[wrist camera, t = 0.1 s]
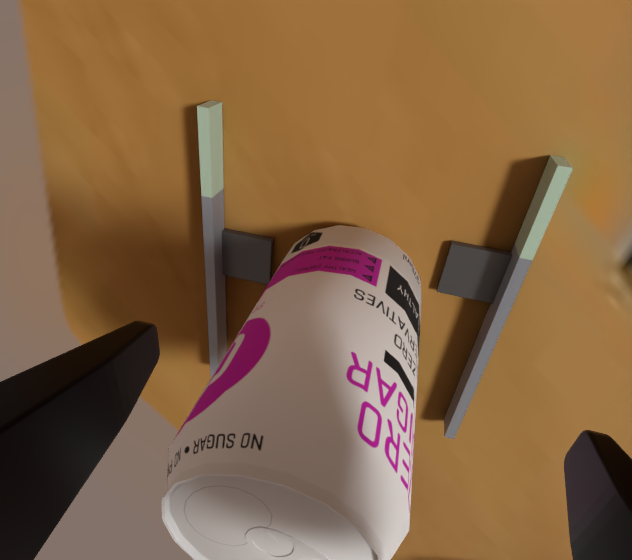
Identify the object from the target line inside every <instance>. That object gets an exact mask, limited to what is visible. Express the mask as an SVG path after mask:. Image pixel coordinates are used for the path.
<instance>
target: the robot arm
mask: <svg viewBox="0 0 632 560" xmlns="http://www.w3.org/2000/svg"><path fill="white" fill-rule="evenodd" d="M159 355H160V349H159V342H158V334H157V328H156V326H155V325H153V324H151V323H147V322H143V321H135V322H132V323H130V324H128V325H125V326H123V327H121V328H119V329H117V330H114V331H112V332H110V333H108V334H105V335H103V336H101V337H99V338H97V339H94V340H92V341H90V342H88V343H85V344H83V345H81V346H79V347H77V348H74V349H72V350H70V351H68V352H66V353H63V354H61V355H59V356H57V357H54V358H52V359H50V360H48V361H46V362H44V363H41V364H39V365H37V366H34V367H32V368H30V369H28V370H26V371H24V372H21V373H19V374H17V375H15V376H12V377H10V378H8V379H6V380H3V381H1V382H0V560H34V558H35V557H36V555H37V554H38V552H39V551H40V549H41V548H42V546H43V545H44V543H45V542H46V540H47V539H48V537H49V536H50V534H51V533H52V531H53V530H54V528H55V527H56V525H57V524H58V522H59V521H60V519H61V518H62V516H63V515H64V513H65V512H66V510H67V509H68V507H69V506H70V504H71V503H72V501H73V500H74V498H75V497H76V495H77V494H78V492H79V491H80V489H81V488H82V486H83V485H84V483H85V482H86V480H87V479H88V478H89V476H90V474H91V473H92V472H93V470H94V468H95V467H96V465H97V464H98V463H99V461H100V460H101V458H102V457H103V455H104V454H105V452H106V451H107V449H108V448H109V446H110V445H111V443H112V442H113V440H114V439H115V437H116V436H117V434H118V433H119V431H120V430H121V428H122V427H123V425H124V423H125V422H126V420H127V418H128V417H129V415H130V413H131V411H132V409H133V407H134V406H135V404H136V402H137V400H138V398H139V396H140V394H141V392H142V390H143V388H144V387H145V385H146V383H147V381H148V379H149V377H150V375H151V373H152V371H153V369H154V368H155V366H156V364H157V362H158V359H159ZM564 473H565V485H566V498H567V510H568V523H569V534H570V543H571V550H572V556H573V560H632V459H631V458H630V457H629V456H628V455H627V454H626V453H625V451H624V450H623V449H622V448H621V447H620V446H619V445H618V444H617V443H616V442H615V441H614V440H613V439H612V438H611V437H610V436H608V435H606V434H603V433H599V432H595V431H591V430H585V431H583V432H582V433H581V434H580V435H579V437H578V438H577V439H576V441H575V442H574V444H573V445H572V447H571V448H570V450H569V451H568V452H567V454H566V457H565V460H564Z"/></svg>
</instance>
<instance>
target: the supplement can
mask: <svg viewBox="0 0 632 560" xmlns="http://www.w3.org/2000/svg"><path fill="white" fill-rule="evenodd" d="M420 320H421V279H420V277H419V275H418V273H417V271H416V269H415V267H414V265H413V263H412V261H411V259H410V257H409V256H408V255H407V254H406V253H405V252H403V251H402V250H401V249H400V248H399V247H398V246H397V245H396V244H395V243H394V242H393V241H392V240H391V239H388V238H386V237H384V236H382V235H380V234H378V233H375V232H373V231H371V230H369V229H367V228H360V227H352V226H343V225H337V226H332V227H327V228H323V229H318V230H314V231H312V232H311V233H309V234H308V235H306V236H305V237H303V238H301V239H300V240H298V241H297V242H295V243H294V244H293V246H292V247H291V249H290V250H289V252H288V253H287V255H286V256H285V258H284V259H283V261H282V262H281V264H280V266H279V267H278V269H277V271H276V272H275V274H274V276H273V277H272V279H271V281H270V282H269V284H268V286H267V287H266V289H265V290H264V292H263V294H262V295H261V297H260V299H259V300H258V302H257V304H256V305H255V307H254V309H253V310H252V312H251V314H250V315H249V317H248V318H247V320H246V322H245V323H244V325H243V327H242V328H241V330H240V332H239V333H238V335H237V337H236V338H235V340H234V341H233V343H232V345H231V346H230V348H229V350H228V351H227V353H226V355H225V356H224V358H223V360H222V361H221V363H220V365H219V366H218V368H217V369H216V371H215V373H214V374H213V376H212V378H211V379H210V381H209V383H208V384H207V386H206V388H205V389H204V391H203V393H202V394H201V396H200V397H199V399H198V401H197V402H196V404H195V406H194V407H193V409H192V411H191V412H190V414H189V416H188V417H187V419H186V420H185V422H184V424H183V425H182V427H181V429H180V430H179V432H178V434H177V436H176V437H175V439H174V440H173V442H172V444H171V445H170V447H169V449H168V476H167V491H166V493H165V495H164V496H163V498H162V520H163V522H164V524H165V525H166V527H167V529H168V531H169V532H170V534H171V536H172V538H173V539H174V541H175V542H176V543H177V544H178V545H179V546H180V547H181V548H182V549H183V550H184V551H185V552H186V553H187V554H188V555H189V556H191V558H193V559H194V560H391V558H392V557H393V555H394V554H395V552H396V550H397V549H398V547H399V546H400V544H401V543H402V541H403V539H404V538H405V536H406V535H407V533H408V532H409V522H410V503H411V485H412V467H413V448H414V430H415V411H416V393H417V375H418V356H419V338H420Z"/></svg>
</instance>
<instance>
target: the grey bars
mask: <svg viewBox="0 0 632 560" xmlns="http://www.w3.org/2000/svg"><path fill="white" fill-rule="evenodd" d="M197 119H198V138H199V158H200V178H201V198H202V218H203V238H204V257H205V277H206V297H207V317H208V337H209V357H210V376H211V377H212V376H213V374H214V373H215V371H216V369H217V368H218V366H219V365H220V363H221V361H222V360H223V358H224V356H225V355H226V353H227V331H226V281H225V275H226V276H231V277H235V278H240V279H244V280H249V281H254V282H258V283H263V284H267V285H268V284H269V282H270V281H271V276H272V256H273V238H269V237H264V236H259V235H254V234H249V233H244V232H240V231H235V230H230V229H225V228H224V180H223V130H222V102H217V101H211V100H210V101H208V102H206V103H203V104H201V105H198V106H197ZM572 169H573V167H572V166H571V165H570V164H569V163H568V161H567V160H566V159H565V158H564V157H558V156H552V155H550V157H549V160H548V162H547V165H546V167H545V169H544V172H543V174H542V177H541V179H540V182H539V184H538V187H537V189H536V192H535V194H534V197H533V199H532V202H531V204H530V207H529V209H528V212H527V214H526V217H525V219H524V222H523V224H522V227H521V229H520V232H519V234H518V237H517V239H516V242H515V244H514V246H513V249H512V251H511V252H508V251H503V250H497V249H492V248H487V247H482V246H477V245H472V244H466V243H461V242H456V241H451V244H450V247H449V251H448V254H447V257H446V260H445V264H444V267H443V270H442V273H441V277H440V280H439V283H438V286H437V292H440V293H445V294H450V295H454V296H459V297H464V298H469V299H473V300H478V301H483V302H488V303H491V304H490V306H489V309H488V311H487V314H486V316H485V318H484V321H483V323H482V326H481V328H480V331H479V333H478V336H477V338H476V341H475V343H474V346H473V348H472V351H471V353H470V356H469V358H468V361H467V363H466V366H465V368H464V371H463V373H462V376H461V378H460V381H459V383H458V386H457V388H456V390H455V393H454V395H453V398H452V400H451V403H450V405H449V408H448V410H447V413H446V415H445V418H444V436H445V437H448V438H452V439H454V438H455V435H456V433H457V431H458V429H459V426H460V424H461V422H462V420H463V417H464V415H465V413H466V410H467V408H468V406H469V404H470V401H471V399H472V397H473V394H474V392H475V390H476V388H477V385H478V383H479V381H480V379H481V376H482V374H483V372H484V369H485V367H486V365H487V363H488V360H489V358H490V356H491V354H492V351H493V349H494V347H495V344H496V342H497V340H498V338H499V335H500V333H501V331H502V328H503V326H504V324H505V322H506V319H507V317H508V315H509V313H510V310H511V308H512V306H513V303H514V301H515V299H516V297H517V294H518V292H519V290H520V288H521V285H522V283H523V281H524V278H525V276H526V274H527V272H528V269H529V267H530V265H531V262H532V260H533V258H534V256H535V253H536V251H537V249H538V247H539V244H540V242H541V240H542V237H543V235H544V233H545V231H546V228H547V226H548V224H549V222H550V219H551V217H552V215H553V212H554V210H555V208H556V206H557V203H558V201H559V199H560V196H561V194H562V192H563V190H564V187H565V185H566V183H567V181H568V178H569V176H570V174H571V171H572Z"/></svg>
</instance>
